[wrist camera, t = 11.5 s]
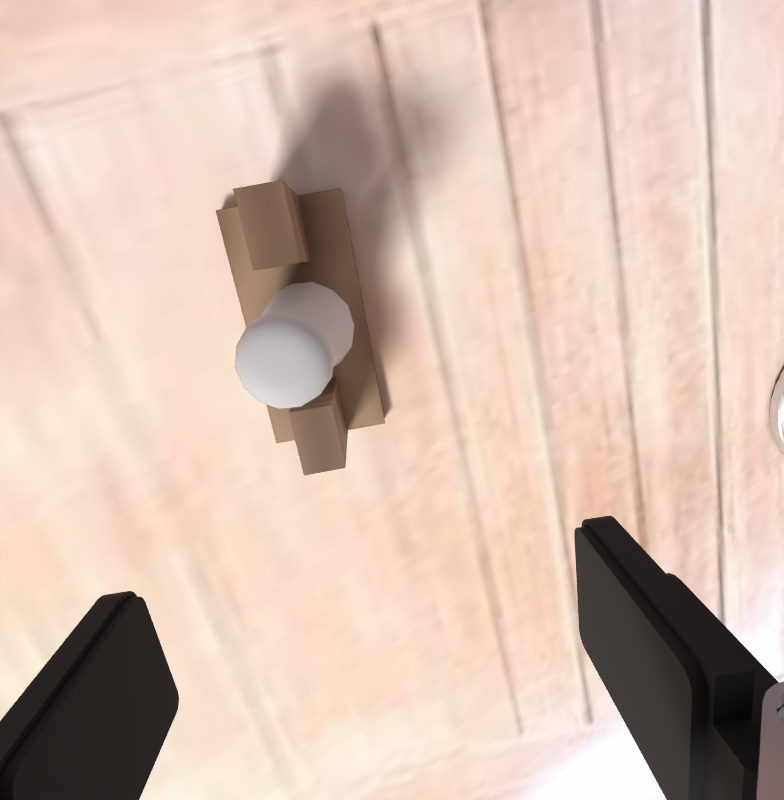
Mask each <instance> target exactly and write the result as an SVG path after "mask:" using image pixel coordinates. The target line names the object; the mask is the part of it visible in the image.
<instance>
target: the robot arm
mask: <svg viewBox="0 0 784 800" xmlns="http://www.w3.org/2000/svg"><path fill="white" fill-rule="evenodd" d="M770 425H771V430H772V433H773V436H774V440H775V442H776V443H777V445H778V446H779V448H780V450H781V451H782V452H783V453H784V370H783V371H782V373H781V375H780V377H779V379H778V382H777V384H776V386H775V389H774V393H773V396H772V399H771V407H770ZM575 553H576V573H577V594H578V614H579V631H580V636H581V640H582V643H583V646H584V648H585V650H586V652H587V654H588V655H589V657H590V659H591V661H592V663H593V665H594V666H595V668H596V670H597V672H598V674H599V676H600V678H601V679H602V681H603V683H604V685H605V687H606V689H607V690H608V692H609V694H610V696H611V698H612V700H613V701H614V703H615V705H616V707H617V709H618V711H619V712H620V714H621V716H622V718H623V720H624V722H625V724H626V725H627V727H628V729H629V731H630V733H631V735H632V736H633V738H634V740H635V742H636V744H637V746H638V747H639V749H640V751H641V753H642V755H643V757H644V759H645V760H646V762H647V764H648V766H649V768H650V770H651V771H652V773H653V775H654V777H655V779H656V781H657V782H658V784H659V786H660V788H661V790H662V792H663V793H664V795H665V797H666V799H667V800H784V682H781V683H779V682H778V681H777V680H776V679H775V678H774V677H773V676H772V675H771V674H770V673H769V672H768V671H767V670H766V669H765V668H764V667H763V666H762V665H761V664H760V663H759V661H758V660H757V659H756V658H755V657H754V656H753V655H752V654H751V653H750V652H749V651H748V650H747V649H746V648H745V647H744V646H743V645H742V644H741V643H740V642H739V641H738V640H737V638H736V637H735V636H734V635H733V634H732V633H731V632H730V631H729V630H728V629H727V628H726V627H725V626H724V625H723V624H722V623H721V622H720V621H719V620H718V619H717V618H716V617H715V615H714V614H713V613H712V612H711V611H710V610H709V609H708V608H707V607H706V606H705V605H704V604H703V603H702V602H701V601H700V600H699V599H698V598H697V597H696V596H695V595H694V593H693V592H692V591H691V590H690V589H689V588H688V587H687V586H686V585H685V584H684V583H683V582H682V581H681V580H680V579H679V578H678V577H676V576H675V575H673V574H670V573H667V574H666V573H665V572H664V571H663V570H662V569H661V568H660V567H659V566H658V565H657V564H656V562H655V561H654V560H653V559H652V558H651V557H650V556H649V555H648V554H647V553H646V552H645V551H644V550H643V548H642V547H641V546H640V545H639V544H638V543H637V542H636V541H635V540H634V539H633V538H632V537H631V536H630V534H629V533H628V532H627V531H626V530H625V529H624V528H623V527H622V526H621V525H620V524H619V523H618V522H617V520H616V519H615V518H613V517H612V516H605V517H598V518H592V519H586V520H584V521H583V522H582V527H580V528H576V529H575ZM178 703H179V696H178V691H177V688H176V685H175V683H174V680H173V677H172V674H171V672H170V669H169V666H168V663H167V661H166V658H165V655H164V652H163V650H162V647H161V644H160V641H159V639H158V636H157V633H156V630H155V628H154V625H153V622H152V619H151V617H150V614H149V611H148V608H147V606H146V603H145V601H144V599H143V598H142V597H137V596H136V594H135V593H134V592H131V591H127V592H121V593H115V594H108V595H104V596H101V597H100V598H99V599H98V600H97V601H96V602H95V604H94V605H93V606H92V607H91V609H90V610H89V611H88V612H87V614H86V615H85V616H84V617H83V619H82V620H81V621H80V622H79V624H78V625H77V626H76V627H75V629H74V630H73V631H72V632H71V634H70V635H69V636H68V637H67V639H66V640H65V641H64V642H63V644H62V645H61V646H60V647H59V649H58V650H57V651H56V652H55V654H54V655H53V656H52V657H51V659H50V660H49V661H48V662H47V664H46V665H45V666H44V667H43V669H42V670H41V671H40V672H39V673H38V675H37V676H36V677H35V678H34V680H33V681H32V682H31V683H30V685H29V686H28V687H27V688H26V690H25V691H24V692H23V693H22V695H21V696H20V697H19V698H18V700H17V701H16V702H15V703H14V705H13V706H12V707H11V708H10V710H9V711H8V712H7V713H6V715H5V716H4V717H3V718H2V720H1V721H0V800H139V799H140V796H141V794H142V792H143V789H144V787H145V785H146V782H147V780H148V778H149V775H150V773H151V771H152V768H153V766H154V764H155V761H156V759H157V757H158V754H159V752H160V750H161V747H162V745H163V743H164V740H165V738H166V736H167V733H168V731H169V729H170V727H171V724H172V722H173V720H174V717H175V715H176V712H177V709H178Z"/></svg>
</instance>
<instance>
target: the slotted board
mask: <svg viewBox="0 0 784 800" xmlns="http://www.w3.org/2000/svg"><path fill="white" fill-rule="evenodd" d="M233 192H234V196H235V200H236V204H237V207H232V208H226V209H221V210H216V214H217V217H218V221H219V225H220V229H221V233H222V236H223V240H224V244H225V248H226V252H227V256H228V259H229V263H230V267H231V271H232V275H233V278H234V282H235V286H236V290H237V294H238V298H239V301H240V305H241V309H242V313H243V317H244V321H245V324H246V328H247V326H248V324H250V323H252V322H253V321H255V320H257V319H259V318H260V317H262V315H263V312H264V310H265V308H266V306H267V305H268V303H269V301H270V300H271V298H272V296H273V295H274V294H276V293H277V292H279V291H281V290H282V289H284V288H286V287H287V286H289V285H291V284H297V283H307V282H314V283H316V284H319V285H321V286H324V287H326V288H329V289H331V290H333V291H334V292H335V293H336V294H337V295H338V296H339V297H340V298H341V299H342V300H343V301H344V302H345V303H346V304H347V305H348V307H349V310H350V314H351V317H352V320H353V323H354V333H353V343H352V347H351V348H350V350H349V351H348V353H347V354H346V355H345V357H344V358H343V360H342V361H341V363H339V364H337V365H336V366H334V367H333V374H332V378H331V379H330V381H329V382H328V384H327V385H326V387H325V388H324V390H323V391H322V393H321V394H320V395H319V396H317V397H316V398H314V399H312V400H311V401H309V402H308V403H306V404H304V405H303V406H301V407H293V408H281V409H279V408H276V407H273V406H270V405H267V404H266V405H267V408H268V412H269V416H270V420H271V424H272V427H273V431H274V435H275V439H276V443H280V442H286V441H291V440H295V441H296V445H297V449H298V453H299V457H300V461H301V465H302V469H303V473H304V475H309V474H314V473H320V472H325V471H330V470H336V469H341V468H345V464H346V449H347V434H348V430H351V429H357V428H362V427H367V426H373V425H378V424H384V423H385V420H384V415H383V409H382V404H381V399H380V393H379V388H378V383H377V377H376V372H375V366H374V361H373V356H372V350H371V345H370V340H369V334H368V329H367V324H366V318H365V313H364V308H363V302H362V297H361V291H360V286H359V281H358V275H357V270H356V265H355V259H354V254H353V249H352V243H351V238H350V233H349V227H348V222H347V217H346V211H345V206H344V200H343V195H342V190H341V188H339V189H333V190H328V191H322V192H317V193H311V194H305V195H300V196H298V195H297V194H296V193H295V192H294V191H293V190H292V189H291V188H290V187H289V186H288V185H287V184H286V183H285V182H283V181H282V180H280V181H275V182H269V183H263V184H258V185H252V186H246V187H241V188H235V189H233Z"/></svg>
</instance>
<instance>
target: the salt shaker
mask: <svg viewBox="0 0 784 800" xmlns="http://www.w3.org/2000/svg"><path fill="white" fill-rule="evenodd" d="M353 333H354V323H353V320H352V317H351V314H350V310H349V307H348V305H347V304H346V303H345V302H344V301H343V300H342V299H341V298H340V297H339V296H338V295H337V294H336V293H335V292H334V291H333V290H331V289H329V288H326V287H324V286H321V285H319V284H316V283H314V282H307V283H297V284H291V285H289V286H287V287H286V288H284V289H282V290H281V291H279V292H277V293H276V294H274V295H273V296H272V298H271V300H270V301H269V303H268V305H267V306H266V308H265V310H264V312H263V315H262V317H260V318H259V319H257V320H255V321H253V322H252V323H250V324H248V326H247V328H246V329H245V331H244V333H243V335H242V336H241V338H240V340H239V341H238V343H237V346H236V359H235V369H236V372H237V374H238V376H239V378H240V381H241V383H242V385H243V387H244V388H245V389H246V390H247V391H248V392H249V393H250V394H251V395H252V396H253V397H254V398H255V399H256V400H257V401H259V402H261V403H264V404H267V405H270V406H273V407H276V408H279V409H281V408H293V407H301V406H303V405H304V404H306V403H308V402H309V401H311V400H312V399H314V398H316V397H317V396H319V395H320V394H321V393H322V391H323V390H324V388H325V387H326V385H327V384H328V382H329V381H330V379H331V378H332V374H333V367H334V366H336V365H337V364H339V363H341V361H342V360H343V358H344V357H345V355H346V354H347V353H348V351H349V350H350V348H351V347H352V343H353Z"/></svg>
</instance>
